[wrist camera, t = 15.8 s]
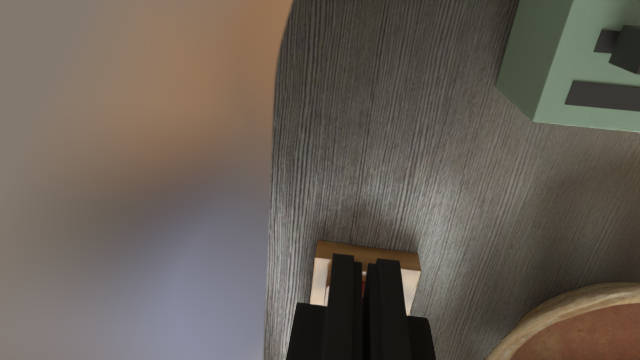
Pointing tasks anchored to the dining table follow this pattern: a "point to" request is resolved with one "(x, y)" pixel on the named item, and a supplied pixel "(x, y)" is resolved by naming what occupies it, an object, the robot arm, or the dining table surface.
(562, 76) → the toaster
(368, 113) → the dining table surface
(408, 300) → the block
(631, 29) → the slider
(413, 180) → the dining table surface
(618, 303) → the bowl
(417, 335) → the robot arm
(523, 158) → the dining table surface
